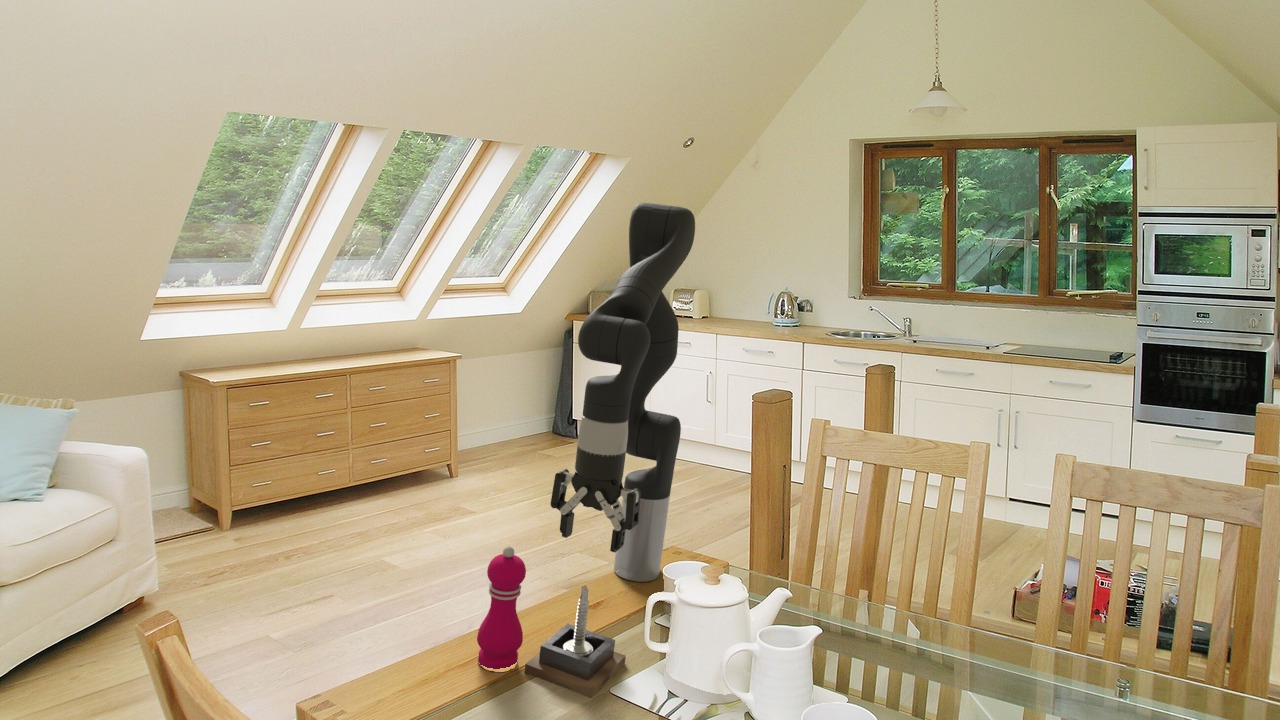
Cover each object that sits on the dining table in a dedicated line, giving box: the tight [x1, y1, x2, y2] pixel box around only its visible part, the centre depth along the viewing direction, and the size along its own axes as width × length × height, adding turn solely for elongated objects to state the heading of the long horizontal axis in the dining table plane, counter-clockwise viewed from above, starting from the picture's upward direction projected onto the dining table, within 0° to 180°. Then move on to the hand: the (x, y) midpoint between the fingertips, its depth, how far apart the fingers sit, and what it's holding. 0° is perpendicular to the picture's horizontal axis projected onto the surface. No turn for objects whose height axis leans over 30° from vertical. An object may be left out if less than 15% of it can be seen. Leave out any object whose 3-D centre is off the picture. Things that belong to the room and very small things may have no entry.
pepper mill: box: [476, 546, 527, 669], centre depth 152 cm, size 7×7×20 cm
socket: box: [539, 623, 616, 681], centre depth 155 cm, size 9×9×3 cm
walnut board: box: [524, 651, 627, 699], centre depth 155 cm, size 12×12×2 cm
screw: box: [563, 585, 593, 657], centre depth 154 cm, size 13×5×5 cm
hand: (590, 543), depth 151 cm, fingers open, 8 cm apart
